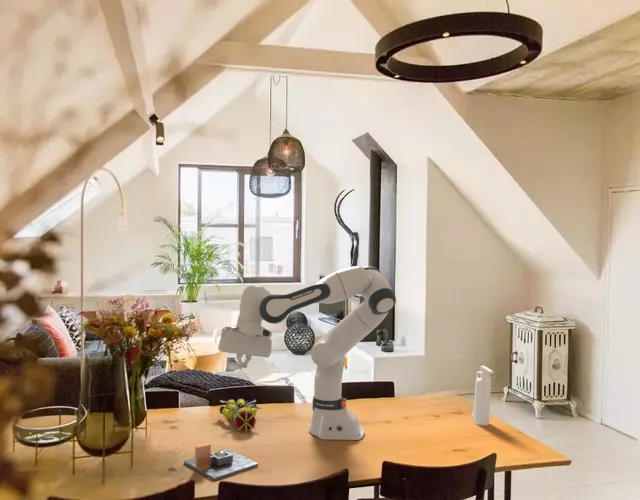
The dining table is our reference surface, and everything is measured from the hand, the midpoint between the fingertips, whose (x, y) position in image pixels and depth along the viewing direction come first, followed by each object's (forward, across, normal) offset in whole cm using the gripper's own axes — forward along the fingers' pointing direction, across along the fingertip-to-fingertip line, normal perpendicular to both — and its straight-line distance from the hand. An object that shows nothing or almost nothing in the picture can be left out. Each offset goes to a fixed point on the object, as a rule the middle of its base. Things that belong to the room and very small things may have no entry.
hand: (242, 367), depth 213 cm
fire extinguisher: (+11, +110, -19) cm, 112 cm away
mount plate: (+33, -4, -3) cm, 34 cm away
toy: (+24, +21, +33) cm, 46 cm away
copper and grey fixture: (+33, -7, -3) cm, 34 cm away
